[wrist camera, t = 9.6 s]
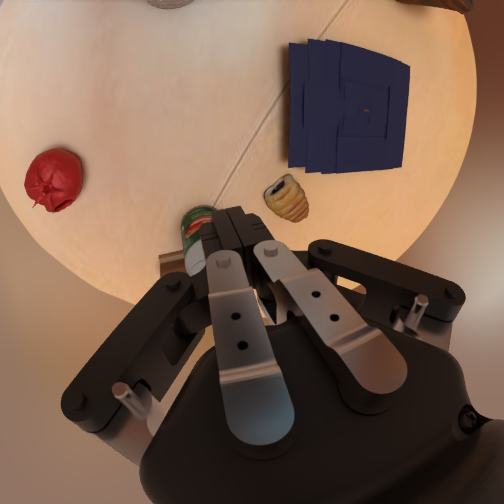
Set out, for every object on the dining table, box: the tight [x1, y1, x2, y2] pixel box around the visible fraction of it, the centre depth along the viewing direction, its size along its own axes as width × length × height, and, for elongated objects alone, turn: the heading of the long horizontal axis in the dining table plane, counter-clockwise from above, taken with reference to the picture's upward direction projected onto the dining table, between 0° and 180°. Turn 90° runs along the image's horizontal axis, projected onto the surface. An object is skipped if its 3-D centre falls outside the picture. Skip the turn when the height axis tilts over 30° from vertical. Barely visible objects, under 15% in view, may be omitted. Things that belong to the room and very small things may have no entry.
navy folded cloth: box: [288, 39, 410, 174], centre depth 42 cm, size 24×30×4 cm
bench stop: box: [159, 250, 190, 278], centre depth 48 cm, size 8×18×9 cm, turn 95°
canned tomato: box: [181, 206, 217, 276], centre depth 43 cm, size 8×8×11 cm
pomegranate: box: [24, 149, 82, 213], centre depth 31 cm, size 10×10×9 cm
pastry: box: [265, 175, 309, 223], centre depth 48 cm, size 9×7×4 cm
